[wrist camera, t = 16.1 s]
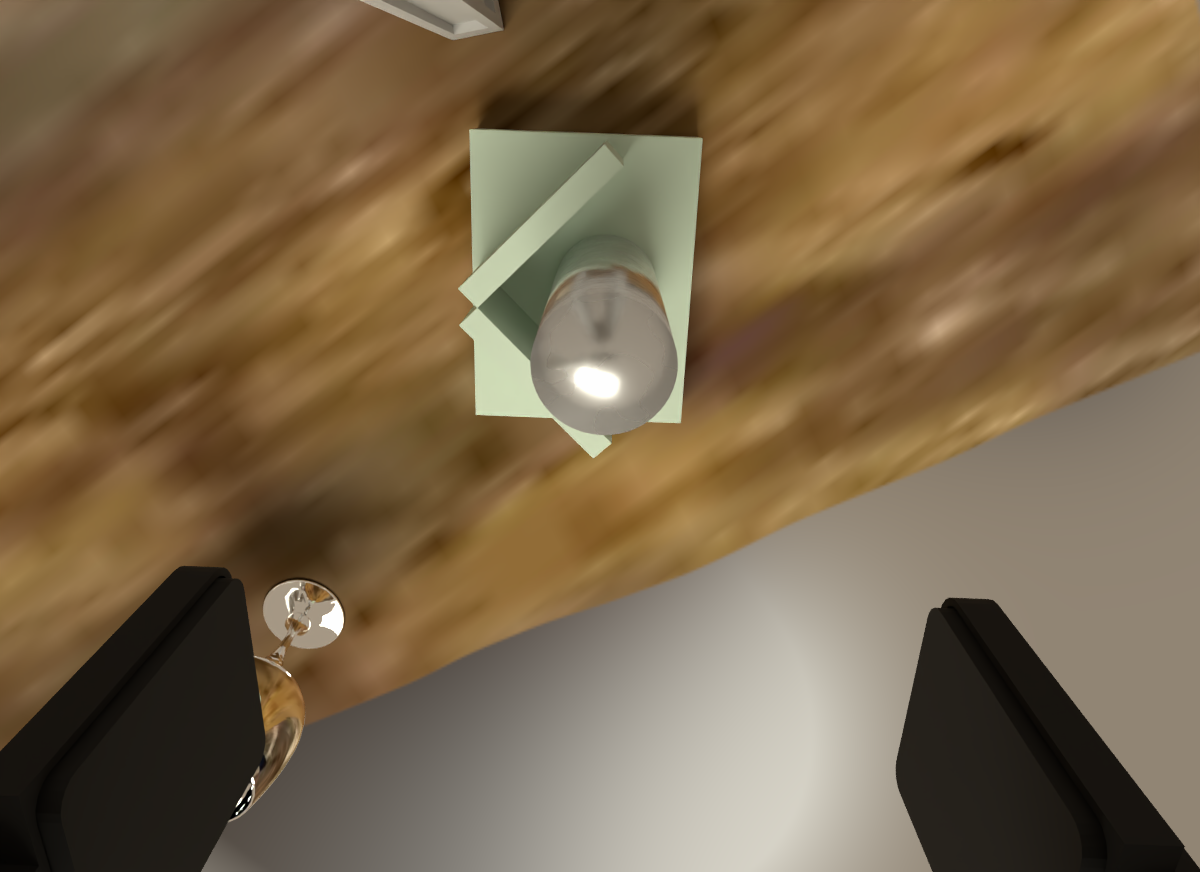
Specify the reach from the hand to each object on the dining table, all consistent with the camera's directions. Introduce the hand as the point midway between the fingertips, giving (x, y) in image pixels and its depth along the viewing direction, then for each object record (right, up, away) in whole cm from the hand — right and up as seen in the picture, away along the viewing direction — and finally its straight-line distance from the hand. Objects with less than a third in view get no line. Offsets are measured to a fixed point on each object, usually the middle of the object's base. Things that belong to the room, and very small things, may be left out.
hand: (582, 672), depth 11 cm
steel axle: (0, +10, +24) cm, 26 cm away
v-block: (0, +11, +26) cm, 28 cm away
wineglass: (-16, -6, +34) cm, 38 cm away
